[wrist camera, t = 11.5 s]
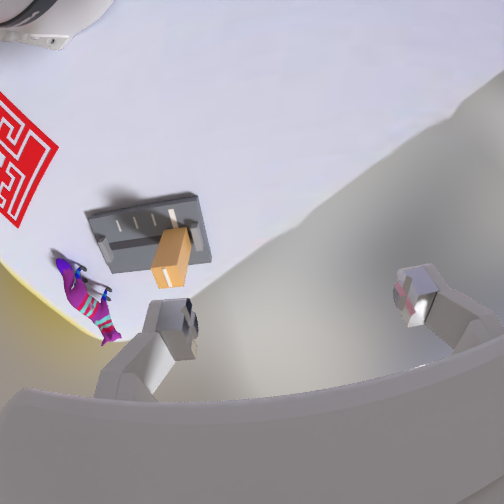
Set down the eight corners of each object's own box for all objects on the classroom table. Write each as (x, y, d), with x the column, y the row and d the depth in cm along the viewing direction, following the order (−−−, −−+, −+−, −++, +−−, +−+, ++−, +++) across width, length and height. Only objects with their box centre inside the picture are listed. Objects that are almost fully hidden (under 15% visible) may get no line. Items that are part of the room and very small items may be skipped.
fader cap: (170, 248, 45) (158, 289, 37) (163, 229, 43) (150, 269, 35) (191, 246, 45) (183, 287, 37) (186, 226, 43) (176, 266, 35)
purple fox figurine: (125, 313, 56) (112, 353, 47) (56, 258, 47) (33, 295, 39) (135, 305, 55) (123, 347, 46) (64, 247, 46) (40, 286, 37)
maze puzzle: (-9, 81, 26) (-11, 81, 26) (60, 146, 35) (58, 147, 35) (-39, 167, 33) (-41, 169, 33) (19, 226, 43) (18, 228, 42)
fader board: (114, 268, 49) (109, 279, 46) (91, 215, 42) (84, 224, 40) (211, 256, 48) (210, 268, 46) (197, 196, 42) (195, 205, 39)
